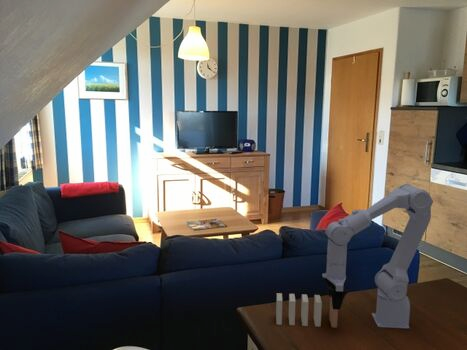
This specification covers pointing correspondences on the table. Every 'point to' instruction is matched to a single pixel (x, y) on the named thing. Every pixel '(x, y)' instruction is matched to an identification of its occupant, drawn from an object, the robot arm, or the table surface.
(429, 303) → the table surface
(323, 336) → the table surface
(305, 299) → the ivory domino
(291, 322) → the ivory domino
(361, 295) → the table surface
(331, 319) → the terracotta domino
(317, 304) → the ivory domino
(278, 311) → the ivory domino
